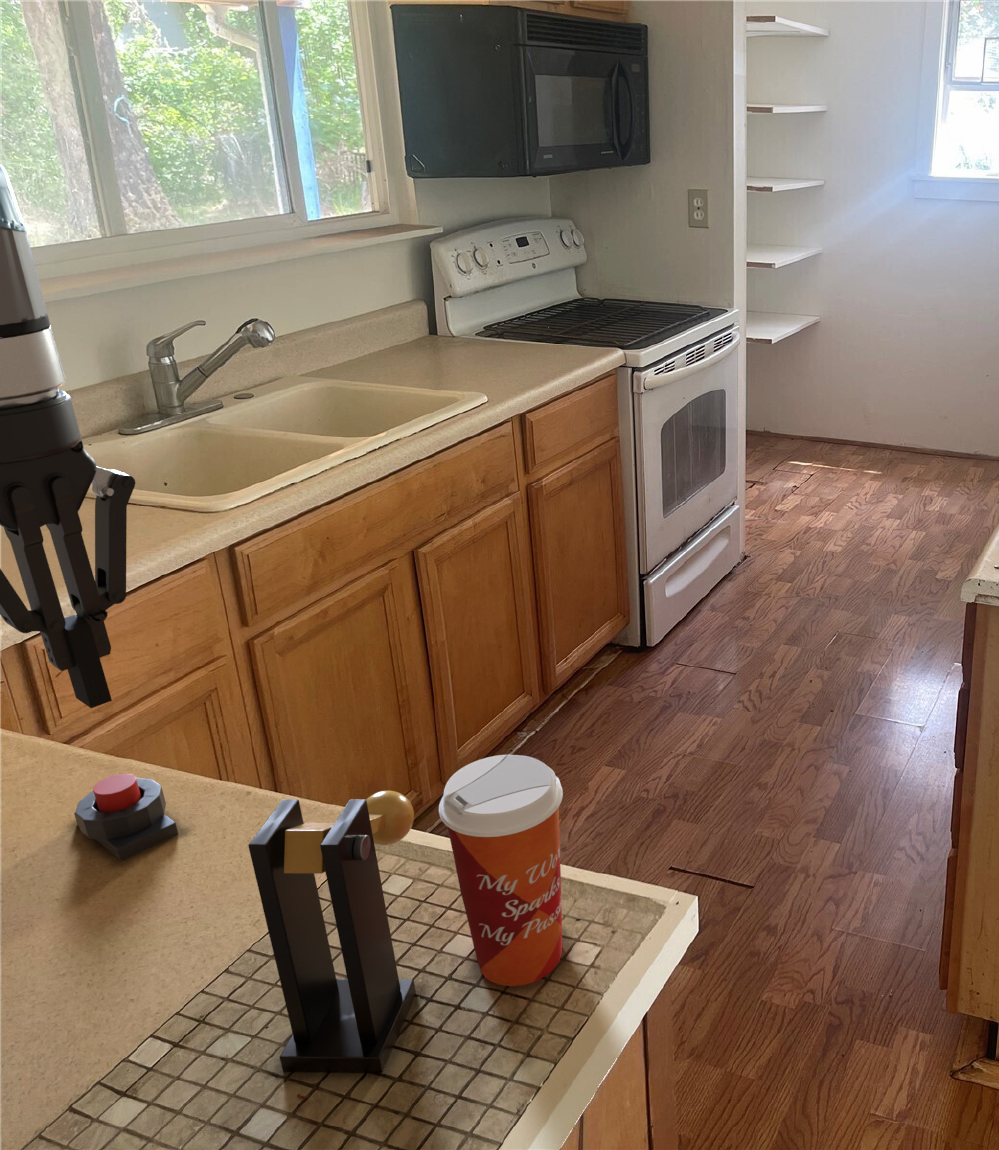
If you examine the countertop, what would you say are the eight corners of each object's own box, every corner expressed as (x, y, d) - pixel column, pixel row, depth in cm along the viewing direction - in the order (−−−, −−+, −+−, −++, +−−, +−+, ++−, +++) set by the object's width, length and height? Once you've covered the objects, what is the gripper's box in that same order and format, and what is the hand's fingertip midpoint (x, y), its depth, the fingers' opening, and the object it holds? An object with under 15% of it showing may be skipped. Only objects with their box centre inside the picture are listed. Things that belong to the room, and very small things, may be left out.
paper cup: (501, 1018, 68) (476, 834, 63) (441, 957, 73) (413, 782, 68) (602, 956, 73) (587, 781, 68) (539, 903, 78) (520, 736, 73)
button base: (67, 829, 87) (57, 798, 86) (142, 796, 91) (134, 765, 90) (111, 867, 82) (101, 835, 81) (188, 830, 87) (180, 799, 86)
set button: (91, 804, 86) (86, 785, 85) (130, 787, 88) (125, 769, 87) (108, 817, 84) (102, 799, 83) (147, 800, 86) (142, 781, 85)
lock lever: (369, 839, 74) (370, 787, 75) (420, 840, 74) (422, 787, 75) (270, 884, 60) (272, 819, 61) (334, 884, 60) (336, 819, 60)
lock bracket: (325, 993, 70) (281, 789, 64) (416, 994, 70) (381, 789, 64) (282, 1073, 64) (229, 856, 58) (382, 1074, 64) (339, 856, 58)
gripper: (83, 372, 80) (158, 654, 89) (-130, 407, 71) (-22, 719, 80) (128, 384, 76) (202, 680, 85) (-92, 424, 66) (18, 752, 76)
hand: (93, 699), depth 82 cm, fingers closed
